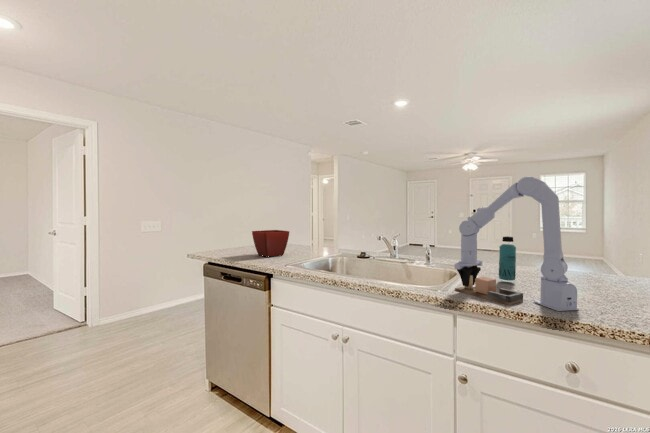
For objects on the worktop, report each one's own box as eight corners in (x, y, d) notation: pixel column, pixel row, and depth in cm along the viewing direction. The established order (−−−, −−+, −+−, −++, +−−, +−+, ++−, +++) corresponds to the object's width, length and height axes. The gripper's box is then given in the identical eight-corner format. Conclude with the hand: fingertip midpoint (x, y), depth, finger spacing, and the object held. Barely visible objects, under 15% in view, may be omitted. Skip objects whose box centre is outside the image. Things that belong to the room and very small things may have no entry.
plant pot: (275, 252, 223) (275, 229, 222) (290, 255, 208) (290, 231, 207) (251, 255, 210) (251, 230, 210) (265, 259, 196) (264, 232, 195)
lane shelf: (523, 301, 107) (523, 293, 107) (509, 305, 103) (509, 296, 103) (468, 287, 126) (468, 280, 126) (455, 290, 122) (455, 283, 122)
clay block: (495, 292, 114) (496, 279, 114) (487, 294, 112) (487, 281, 111) (469, 286, 124) (469, 273, 123) (461, 287, 121) (461, 275, 121)
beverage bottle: (495, 281, 135) (495, 236, 135) (505, 280, 138) (506, 235, 137) (508, 284, 129) (509, 237, 129) (519, 283, 132) (520, 236, 131)
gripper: (471, 248, 128) (470, 280, 128) (447, 251, 121) (447, 285, 121) (487, 250, 122) (487, 284, 122) (463, 253, 114) (463, 289, 115)
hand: (468, 285), depth 121 cm, fingers closed on clay block, 3 cm apart
